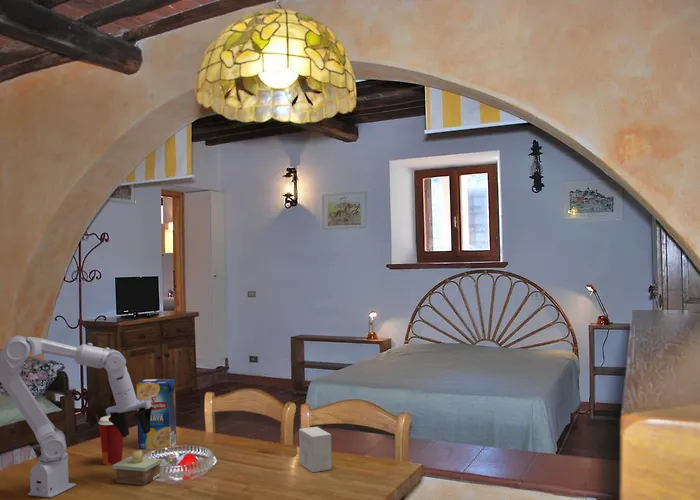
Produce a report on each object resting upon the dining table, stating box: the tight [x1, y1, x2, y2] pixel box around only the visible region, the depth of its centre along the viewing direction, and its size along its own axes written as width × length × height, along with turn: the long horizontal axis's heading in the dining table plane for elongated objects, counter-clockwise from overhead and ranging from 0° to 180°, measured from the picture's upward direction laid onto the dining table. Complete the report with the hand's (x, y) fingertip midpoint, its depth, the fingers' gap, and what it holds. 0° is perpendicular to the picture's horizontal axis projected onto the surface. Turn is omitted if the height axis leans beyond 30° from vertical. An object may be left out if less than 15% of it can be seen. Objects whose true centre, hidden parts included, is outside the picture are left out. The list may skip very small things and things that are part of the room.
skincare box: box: [298, 426, 333, 473], centre depth 187 cm, size 10×6×10 cm, turn 27°
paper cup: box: [97, 415, 124, 466], centre depth 196 cm, size 8×8×14 cm
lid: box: [112, 449, 163, 471], centre depth 180 cm, size 8×11×4 cm
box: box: [114, 463, 161, 486], centre depth 180 cm, size 7×10×4 cm
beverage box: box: [136, 378, 178, 451], centre depth 212 cm, size 7×11×22 cm, turn 87°
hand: (136, 434), depth 183 cm, fingers open, 7 cm apart
